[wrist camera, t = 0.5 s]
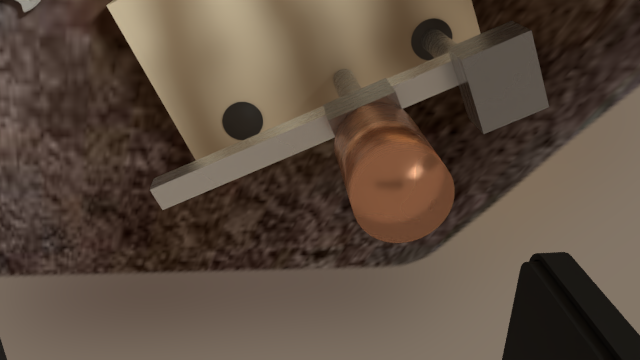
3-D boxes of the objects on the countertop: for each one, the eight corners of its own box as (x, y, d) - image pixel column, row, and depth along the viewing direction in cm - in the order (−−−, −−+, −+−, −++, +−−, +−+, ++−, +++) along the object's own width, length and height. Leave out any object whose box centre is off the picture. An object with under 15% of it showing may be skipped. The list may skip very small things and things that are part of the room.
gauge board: (422, -143, 33) (432, -145, 31) (475, 47, 38) (487, 55, 36) (113, -1, 35) (106, 5, 33) (206, 162, 40) (204, 175, 38)
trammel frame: (449, -17, 34) (543, 25, 23) (465, 38, 36) (560, 102, 25) (172, 104, 36) (135, 199, 25) (199, 152, 37) (176, 260, 26)
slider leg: (354, 26, 34) (437, 134, 19) (374, 79, 36) (466, 219, 20) (300, 50, 35) (336, 176, 19) (322, 102, 36) (373, 257, 21)
